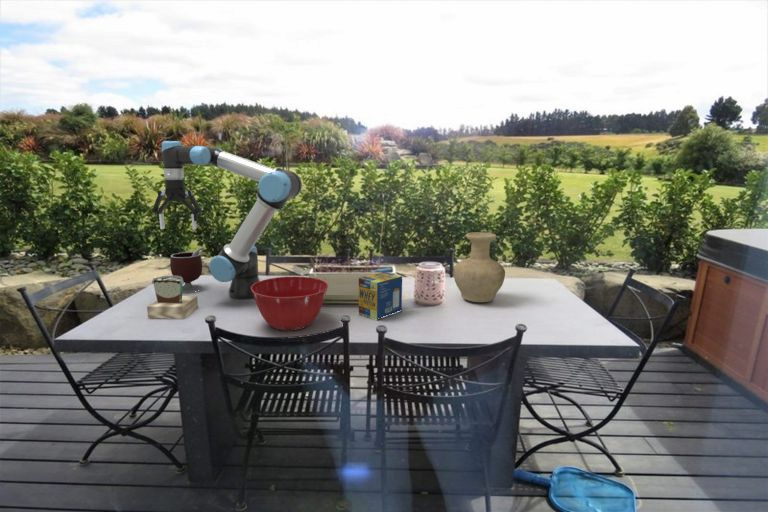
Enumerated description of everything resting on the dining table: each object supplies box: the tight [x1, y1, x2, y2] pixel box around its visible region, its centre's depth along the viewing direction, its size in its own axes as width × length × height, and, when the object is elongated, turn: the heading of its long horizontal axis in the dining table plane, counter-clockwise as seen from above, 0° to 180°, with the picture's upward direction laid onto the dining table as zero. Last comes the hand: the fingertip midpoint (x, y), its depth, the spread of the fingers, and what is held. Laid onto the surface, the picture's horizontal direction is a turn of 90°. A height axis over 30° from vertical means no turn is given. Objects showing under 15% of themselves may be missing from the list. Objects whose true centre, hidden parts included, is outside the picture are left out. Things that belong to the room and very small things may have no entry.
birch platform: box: [146, 295, 199, 320], centre depth 183 cm, size 14×14×5 cm
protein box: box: [358, 271, 403, 320], centre depth 184 cm, size 10×15×16 cm
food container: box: [151, 275, 185, 304], centre depth 182 cm, size 12×6×10 cm, turn 86°
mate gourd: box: [169, 246, 204, 294], centre depth 215 cm, size 16×14×20 cm
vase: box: [453, 231, 506, 303], centre depth 201 cm, size 22×22×30 cm
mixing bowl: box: [251, 275, 329, 331], centre depth 170 cm, size 28×28×15 cm
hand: (178, 228), depth 195 cm, fingers open, 13 cm apart
